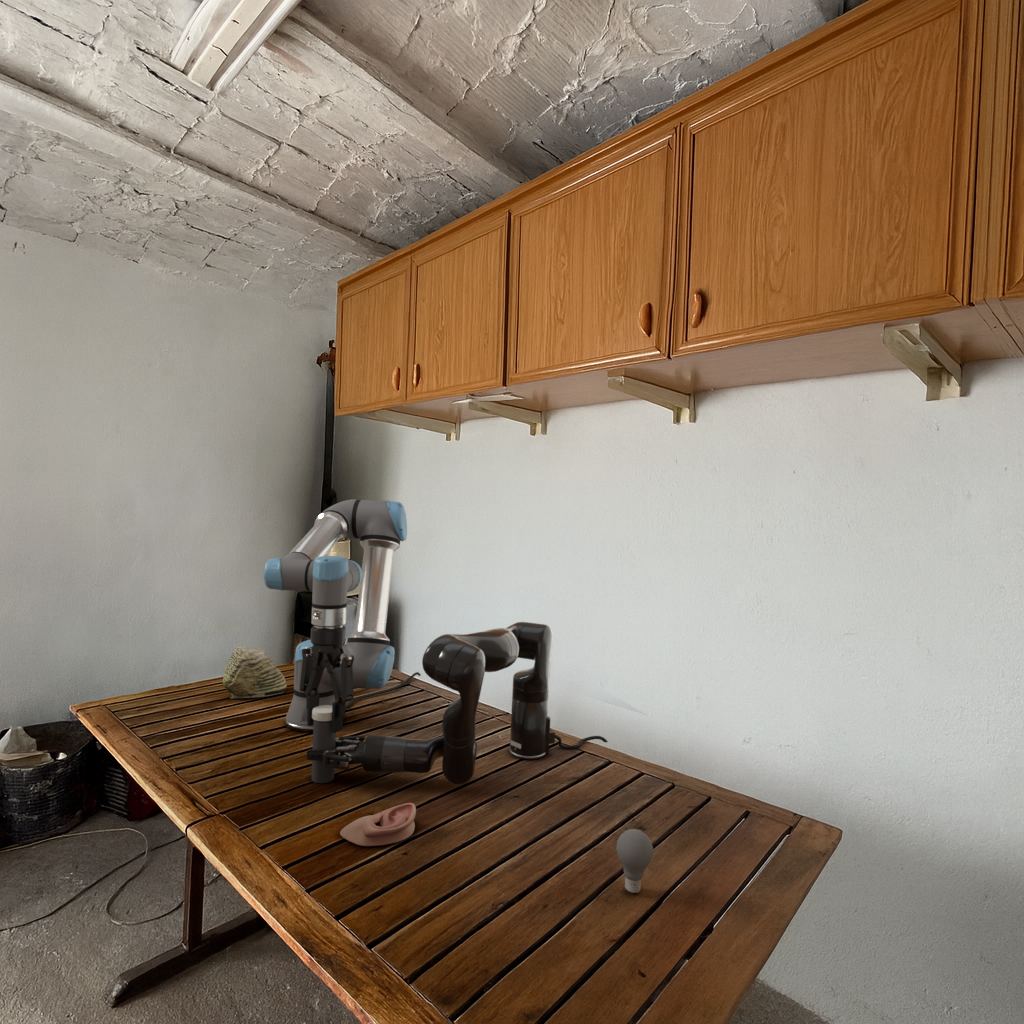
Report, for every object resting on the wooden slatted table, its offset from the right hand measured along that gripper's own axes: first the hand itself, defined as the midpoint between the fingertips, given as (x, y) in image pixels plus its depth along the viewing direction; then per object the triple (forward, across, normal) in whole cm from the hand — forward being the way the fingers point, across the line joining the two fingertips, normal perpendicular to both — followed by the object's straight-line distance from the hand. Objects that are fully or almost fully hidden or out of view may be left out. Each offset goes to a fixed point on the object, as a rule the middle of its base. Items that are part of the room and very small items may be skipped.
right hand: (312, 749), depth 142 cm
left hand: (-3, 0, -5) cm, 6 cm away
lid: (-3, 0, -9) cm, 9 cm away
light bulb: (-67, +34, +6) cm, 75 cm away
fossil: (+38, -54, +6) cm, 66 cm away
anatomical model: (-21, +21, +6) cm, 30 cm away
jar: (-3, 0, +6) cm, 7 cm away
